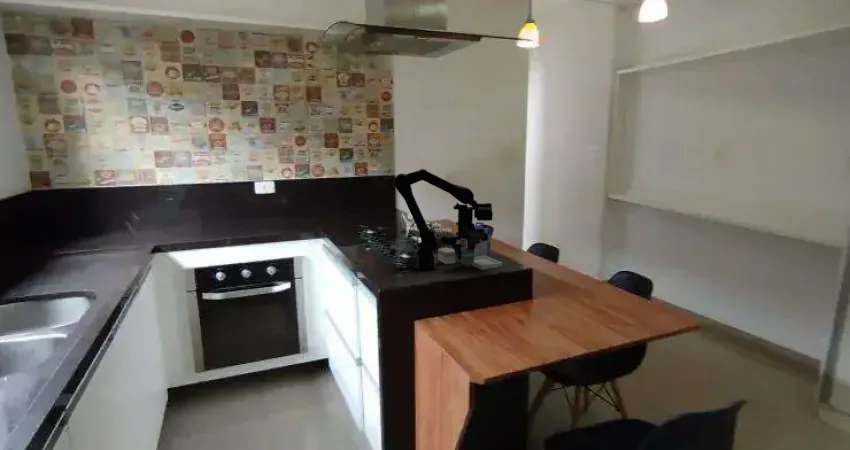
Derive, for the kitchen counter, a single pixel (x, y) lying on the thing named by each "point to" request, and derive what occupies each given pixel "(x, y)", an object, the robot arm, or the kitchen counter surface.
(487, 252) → the ink cartridge box
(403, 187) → the robot arm
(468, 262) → the block
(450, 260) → the block
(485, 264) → the tray
